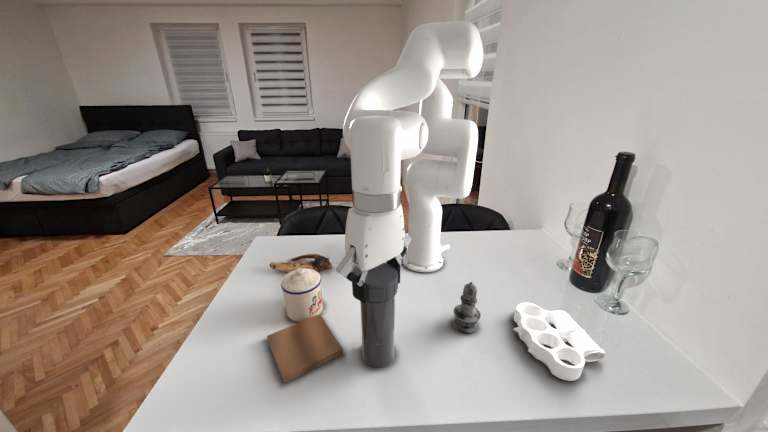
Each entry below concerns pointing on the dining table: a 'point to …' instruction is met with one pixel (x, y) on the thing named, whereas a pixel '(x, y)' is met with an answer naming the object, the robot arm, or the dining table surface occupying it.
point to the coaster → (303, 347)
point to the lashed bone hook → (303, 263)
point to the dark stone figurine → (467, 311)
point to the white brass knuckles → (556, 340)
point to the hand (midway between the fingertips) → (377, 289)
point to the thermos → (378, 332)
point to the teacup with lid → (302, 294)
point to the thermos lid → (381, 282)
